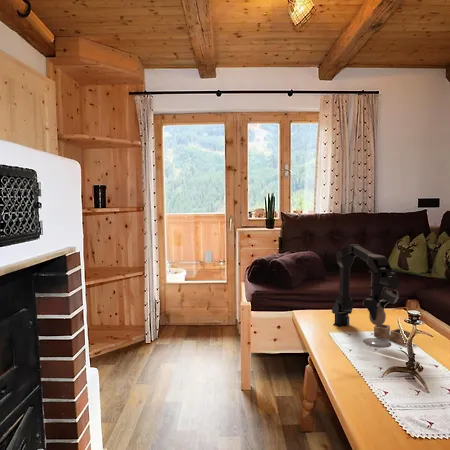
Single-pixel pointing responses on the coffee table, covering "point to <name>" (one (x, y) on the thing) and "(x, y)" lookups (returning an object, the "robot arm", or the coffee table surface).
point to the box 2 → (398, 336)
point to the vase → (379, 317)
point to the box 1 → (382, 331)
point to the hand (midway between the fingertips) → (377, 318)
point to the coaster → (377, 342)
